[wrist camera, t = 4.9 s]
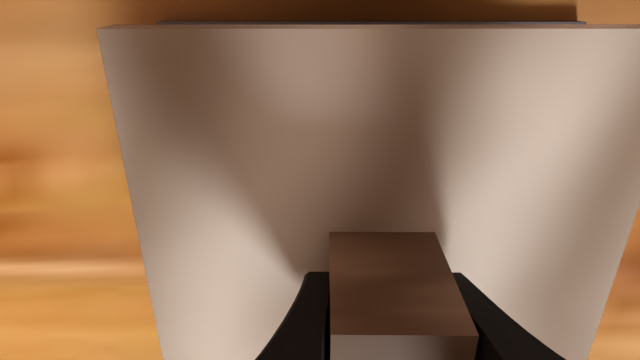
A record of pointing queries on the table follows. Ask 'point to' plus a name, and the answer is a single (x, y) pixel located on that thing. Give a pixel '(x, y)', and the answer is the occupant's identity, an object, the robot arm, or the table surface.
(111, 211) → the table surface
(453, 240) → the lid
